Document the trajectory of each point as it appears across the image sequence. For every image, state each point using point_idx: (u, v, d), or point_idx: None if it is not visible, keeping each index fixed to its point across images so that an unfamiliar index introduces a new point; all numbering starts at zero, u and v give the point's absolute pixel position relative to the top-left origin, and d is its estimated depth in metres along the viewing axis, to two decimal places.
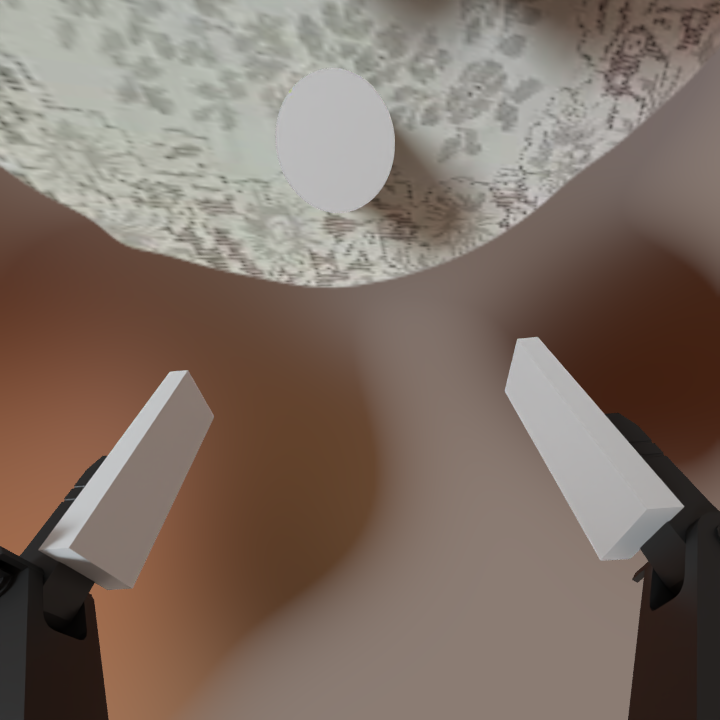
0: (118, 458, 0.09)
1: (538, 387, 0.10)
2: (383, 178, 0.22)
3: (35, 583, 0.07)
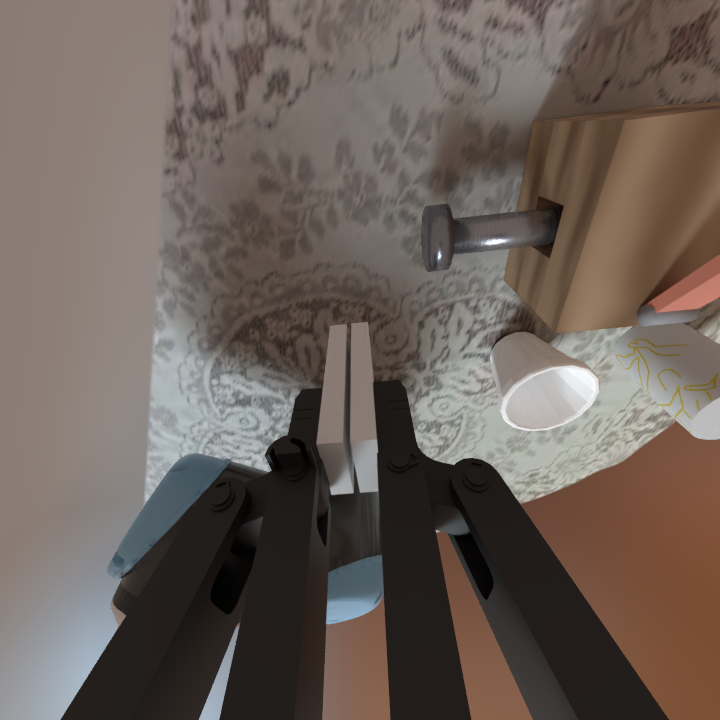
0: (335, 385, 0.11)
1: None
2: None
3: (316, 484, 0.08)
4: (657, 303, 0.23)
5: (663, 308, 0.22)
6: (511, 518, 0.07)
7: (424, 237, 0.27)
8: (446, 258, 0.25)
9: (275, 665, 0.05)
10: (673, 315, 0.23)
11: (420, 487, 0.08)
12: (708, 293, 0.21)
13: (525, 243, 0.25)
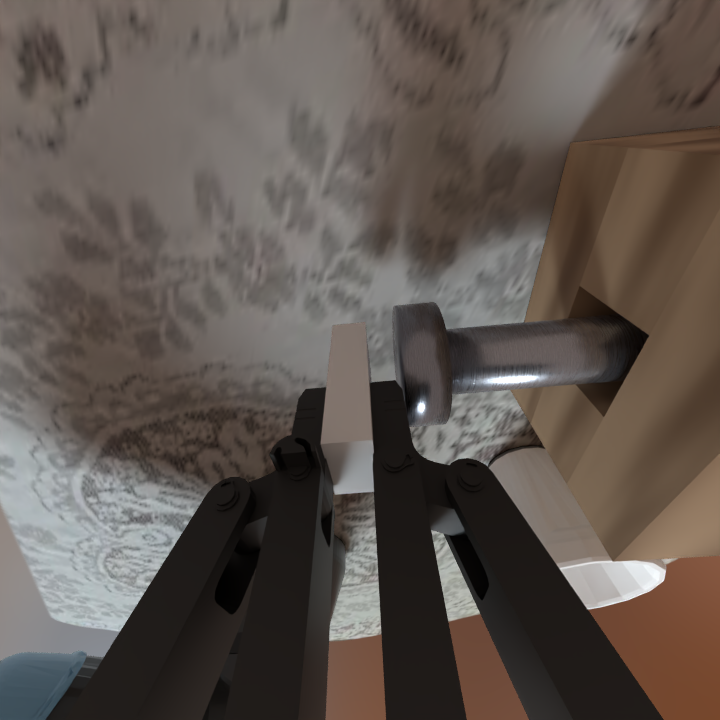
0: (338, 384, 0.11)
1: None
2: None
3: (321, 484, 0.08)
4: None
5: None
6: (506, 518, 0.07)
7: (396, 353, 0.14)
8: (436, 420, 0.12)
9: (280, 664, 0.05)
10: None
11: (415, 487, 0.08)
12: None
13: (594, 382, 0.13)
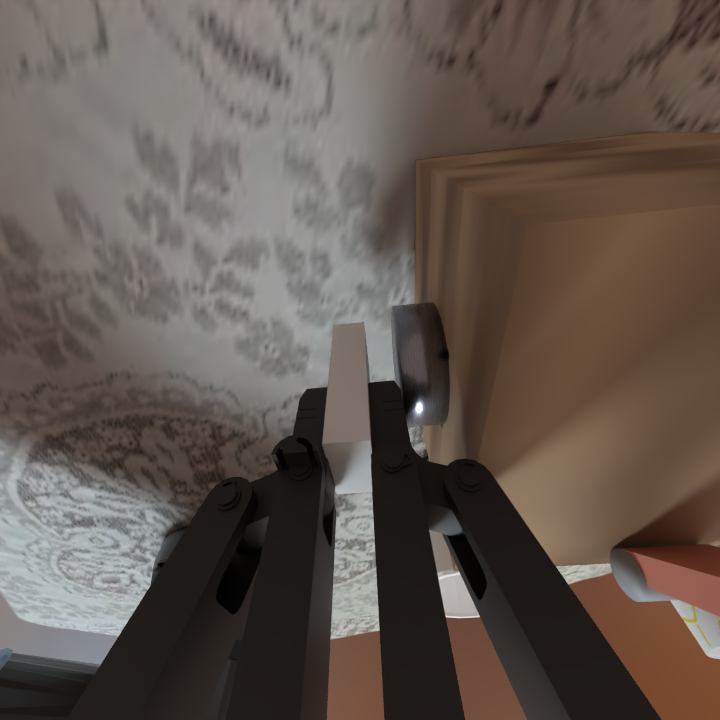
0: (339, 384, 0.11)
1: None
2: None
3: (322, 484, 0.08)
4: (651, 572, 0.10)
5: (664, 592, 0.10)
6: (504, 518, 0.07)
7: (394, 354, 0.14)
8: (434, 420, 0.12)
9: (281, 664, 0.05)
10: None
11: (414, 487, 0.08)
12: None
13: None
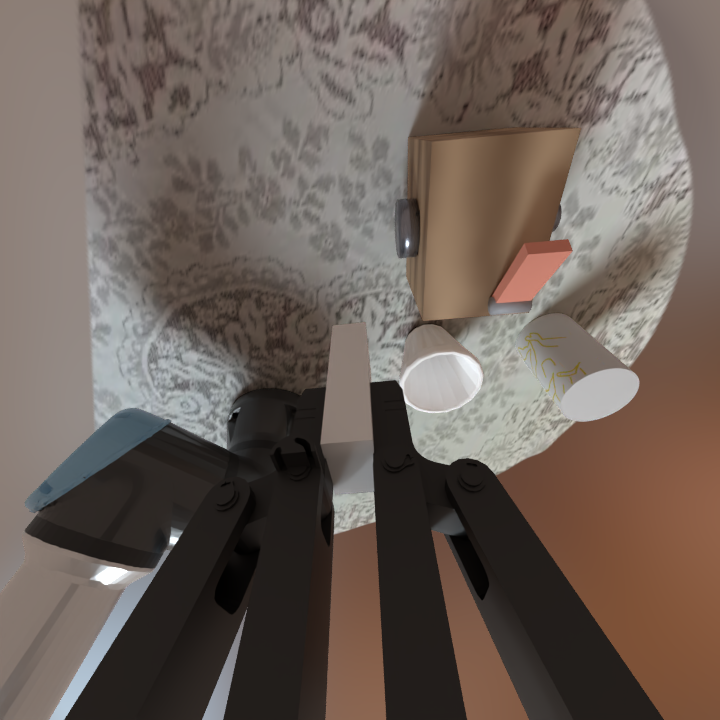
0: (338, 385, 0.11)
1: None
2: (630, 373, 0.33)
3: (321, 484, 0.08)
4: (496, 295, 0.27)
5: (499, 299, 0.26)
6: (506, 518, 0.07)
7: (396, 228, 0.31)
8: (413, 245, 0.28)
9: (280, 665, 0.05)
10: (510, 306, 0.27)
11: (416, 487, 0.08)
12: (526, 286, 0.25)
13: None
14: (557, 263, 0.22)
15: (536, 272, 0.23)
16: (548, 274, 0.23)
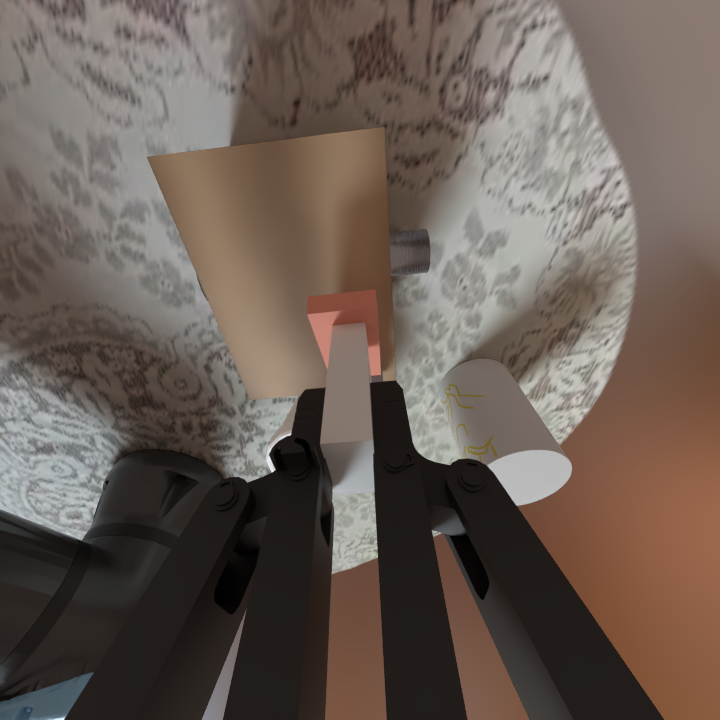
0: (337, 385, 0.11)
1: None
2: (556, 455, 0.24)
3: (320, 484, 0.08)
4: None
5: None
6: (506, 518, 0.07)
7: None
8: None
9: (280, 665, 0.05)
10: None
11: (416, 487, 0.08)
12: None
13: None
14: (370, 325, 0.14)
15: None
16: (372, 340, 0.15)
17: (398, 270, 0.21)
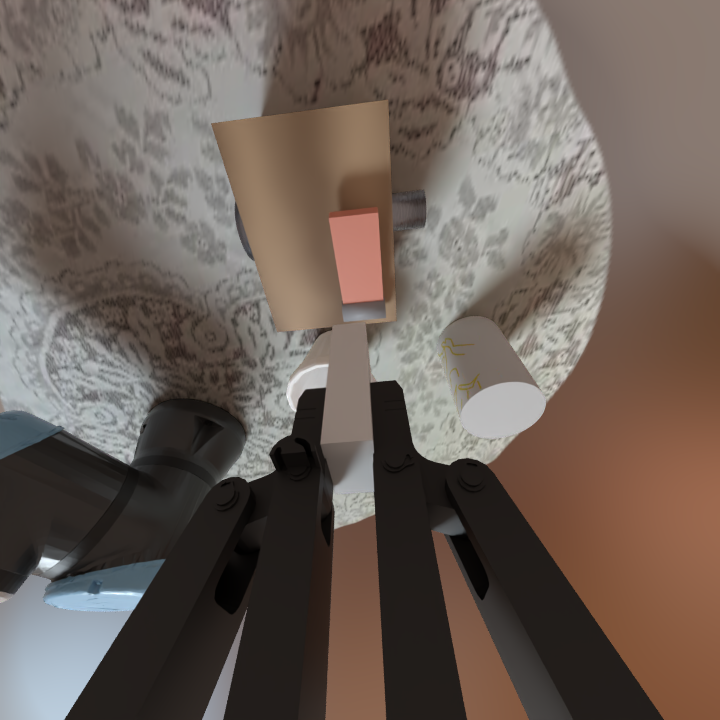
0: (338, 385, 0.11)
1: None
2: (531, 387, 0.29)
3: (321, 484, 0.08)
4: None
5: (343, 297, 0.23)
6: (506, 518, 0.07)
7: None
8: None
9: (280, 665, 0.05)
10: (360, 306, 0.23)
11: (416, 487, 0.08)
12: (362, 274, 0.21)
13: None
14: (373, 234, 0.19)
15: (358, 248, 0.20)
16: (375, 252, 0.20)
17: (399, 224, 0.25)
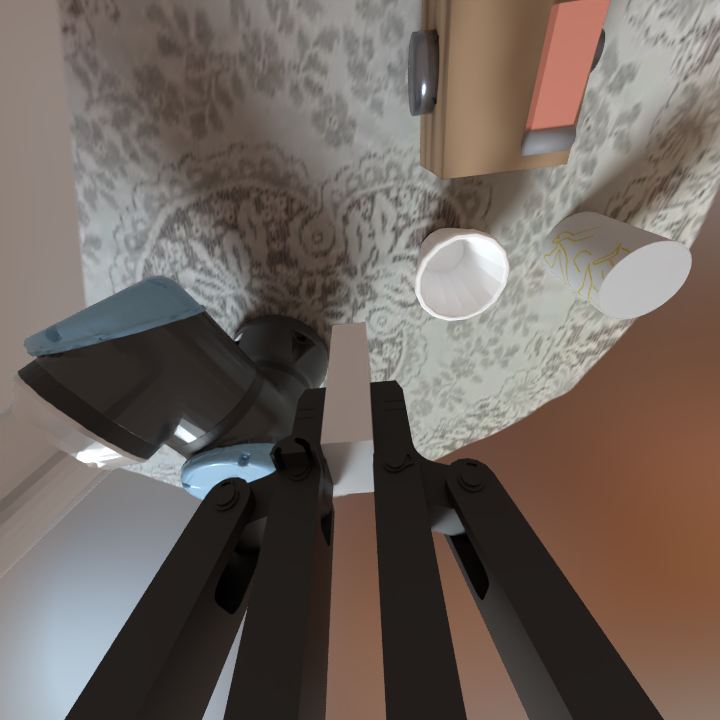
0: (338, 385, 0.11)
1: None
2: (682, 248, 0.29)
3: (321, 484, 0.08)
4: (529, 122, 0.23)
5: (534, 120, 0.22)
6: (506, 518, 0.07)
7: (410, 79, 0.27)
8: (431, 85, 0.24)
9: (280, 665, 0.05)
10: (549, 131, 0.23)
11: (416, 487, 0.08)
12: (564, 87, 0.21)
13: None
14: (596, 27, 0.19)
15: (573, 49, 0.20)
16: (588, 54, 0.20)
17: None
